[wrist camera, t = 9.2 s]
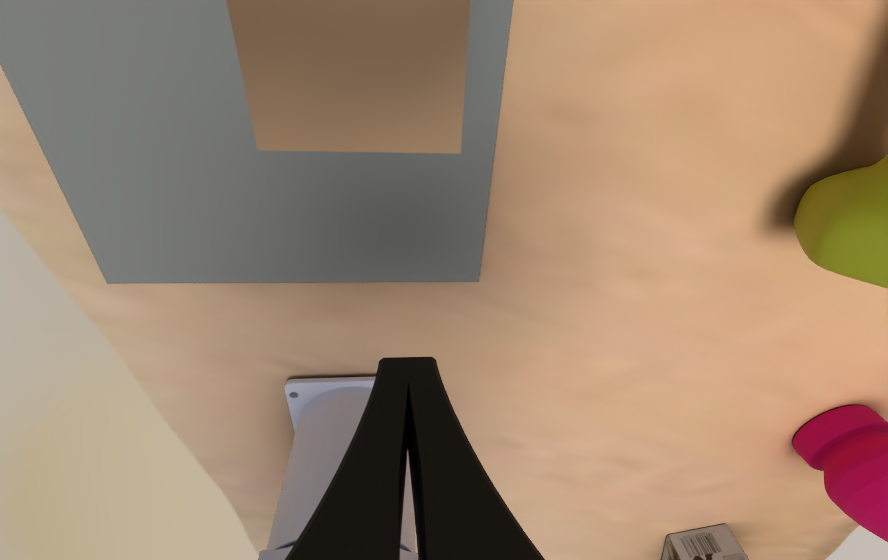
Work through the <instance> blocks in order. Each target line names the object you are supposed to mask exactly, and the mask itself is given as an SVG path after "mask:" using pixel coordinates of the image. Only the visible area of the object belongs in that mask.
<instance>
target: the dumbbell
mask: <svg viewBox="0 0 888 560" xmlns="http://www.w3.org/2000/svg"><path fill="white" fill-rule="evenodd" d="M794 229H795V232H796V235H797V238H798V240H799V242H800V244H801V246H802V248H803V250H804V252H805V254H806V255H807V256H808V258H809V259H810V260H811V261H813V262H814V263H815V264H817V265H818V266H820V267H822V268H824V269H826V270H829V271H832V272H834V273H837V274H840V275H844V276H847V277H850V278H853V279H857V280H860V281H864V282H867V283H871V284H874V285H877V286H881V287H885V288H888V154H887V155H886V156H885V157H884V158H883V159H881V160H880V161H879V162H878V163H876V164H874V165H872V166H869V167H863V168H858V169H853V170H849V171H845V172H842V173H839V174H835V175H832V176H829V177H826V178H824V179H822V180H820V181H818V182H816V183H814V184H812V185H811V186H810V187H809V188H808V189H807V190H806V192H805V193H804V195H803V197H802V198H801V201H800V203H799V206H798V208H797V211H796V214H795V217H794Z"/></svg>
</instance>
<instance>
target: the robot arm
mask: <svg viewBox="0 0 888 560" xmlns="http://www.w3.org/2000/svg"><path fill="white" fill-rule="evenodd" d="M284 390H285V395H286V399H287V403H288V407H289V411H290V416H291V420H292V424H293V428H294V432H295V437H294V441H293V445H292V449H291V453H290V457H289V461H288V465H287V469H286V473H285V477H284V481H283V485H282V489H281V493H280V497H279V501H278V505H277V509H276V513H275V517H274V521H273V525H272V529H271V533H270V537H269V541H268V545H267V549H266V550H262V551H261V552H260V554H259V558H258V560H545V559H544V558H543V556H542V555H541V554H540V552H539V551H538V550H537V548H536V547H535V546H534V544H533V543H532V542H531V540H530V539H529V538H528V536H527V535H526V533H525V532H524V531H523V529H522V528H521V526H520V525H519V523H518V522H517V520H516V519H515V517H514V516H513V514H512V513H511V511H510V510H509V508H508V507H507V505H506V504H505V502H504V501H503V499H502V498H501V496H500V494H499V493H498V491H497V490H496V488H495V487H494V485H493V483H492V482H491V480H490V478H489V477H488V475H487V473H486V471H485V470H484V468H483V466H482V464H481V463H480V461H479V459H478V457H477V455H476V454H475V452H474V450H473V448H472V446H471V444H470V443H469V441H468V439H467V437H466V435H465V433H464V431H463V429H462V427H461V424H460V422H459V420H458V418H457V416H456V414H455V412H454V410H453V407H452V405H451V403H450V400H449V398H448V395H447V393H446V391H445V388H444V385H443V383H442V380H441V377H440V374H439V370H438V367H437V363H436V360H435V359H434V358H433V357H401V358H383V359H381V360H380V361H379V365H378V370H377V374H376V377H345V378H311V379H290V380H288V381H287V382H286V383H285V386H284ZM293 392H296V393H293ZM414 516H415V517H414ZM415 525H416V535H417V547H418V553H416V551H415Z"/></svg>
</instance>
